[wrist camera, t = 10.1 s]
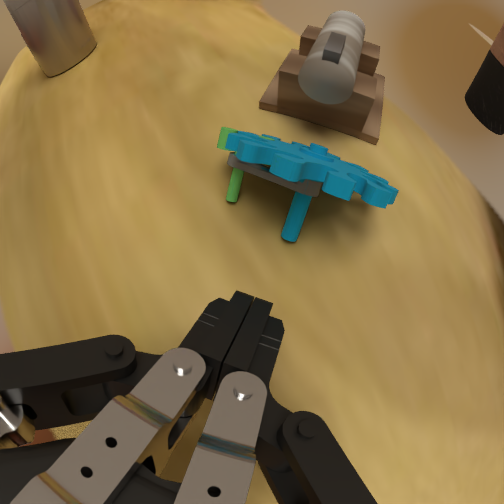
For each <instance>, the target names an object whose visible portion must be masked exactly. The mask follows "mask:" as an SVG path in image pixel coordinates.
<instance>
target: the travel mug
mask: <svg viewBox="0 0 504 504" xmlns="http://www.w3.org/2000/svg"><path fill="white" fill-rule="evenodd" d="M465 101H466V103H467V105H468V107H469V109H470V110H471V112H472V113H473V114H474V115H475V117H476V118H477V119H478V120H479V121H480V122H481V123H482V124H483V125H484V126H485V127H486V128H488V129H489V130H490V131H492V132H494V133H495V134H498V135H502V134H504V24H503V26H502V28H501V30H500V32H499V33H498V35H497V37H496V39H495V41H494V43H493V44H492V46H491V48H490V50H489V52H488V54H487V56H486V58H485V60H484V61H483V63H482V65H481V67H480V69H479V71H478V73H477V75H476V76H475V78H474V80H473V82H472V84H471V86H470V87H469V89H468V91H467V92H466V94H465Z"/></svg>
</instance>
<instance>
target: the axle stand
mask: <svg viewBox="0 0 504 504" xmlns="http://www.w3.org/2000/svg"><path fill="white" fill-rule="evenodd" d="M364 35H365V25H364V23H363V21H362V20H361V19H360V18H359V16H357V15H356V14H354V13H352V12H348V11H337V12H334V13H332V14H331V15H330V16H329V17H328V19H327V21H326V23H325V25H324V26H323V28H318V27H313V26H309V25H308V26H307V28H306V29H305V31H304V33H303V34H302V35H301V39H300V49H299V50H296V49H291V51H290V52H289V54H288V56H287V57H286V59H285V60H284V62H283V63H282V65H281V67H280V68H279V70H278V71H277V73H276V75H275V76H274V78H273V80H272V81H271V83H270V85H269V86H268V88H267V90H266V91H265V93H264V95H263V96H262V98H261V100H260V101H259V108H260V109H265V110H269V111H273V112H277V113H281V114H284V115H288V116H292V117H295V118H299V119H302V120H306V121H309V122H312V123H315V124H319V125H322V126H325V127H328V128H331V129H334V130H337V131H340V132H343V133H346V134H348V135H351V136H354V137H357V138H359V139H362V140H364V141H367V142H370V143H372V144H375V145H376V143H377V142H378V140H379V134H380V125H381V116H382V106H383V95H384V82H385V80H384V79H385V77H384V76H382V75H379V74H376V73H375V70H376V67H377V64H378V61H379V52H380V46H377V45H375V44H372V43H369V42H366V41H363V40H364Z"/></svg>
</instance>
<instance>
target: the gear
mask: <svg viewBox="0 0 504 504" xmlns="http://www.w3.org/2000/svg"><path fill="white" fill-rule="evenodd" d="M280 140H281V139H279V138H277V137H273V136H269V135H264V134H262V136H258V135H256V134H253V133H249V132H243V131H238V130H235V129H231V128H226V127H222V128H221V132H220V136H219V140H218V144H217V148H220V149H223V150H228V151H235V152H230V154H229V158H228V162H227V164H228V165H229V166H232V167H233V171H232V175H231V179H230V183H229V188H228V192H227V196H226V200H228V201H230V202H236V201H237V198H238V194H239V190H240V186H241V182H242V178H243V175H244V171H245V172H248V173H251V174H253V175H256V176H258V177H261V178H264V179H266V180H269V181H271V182H274V183H276V184H279V185H282V186H284V187H286V188H289V189H291V190H294V191H295V194H294V197H293V200H292V204H291V207H290V210H289V213H288V216H287V219H286V222H285V225H284V228H283V231H282V234H281V236H282V238H284V239H285V240H288V241H292V242H294V241H296V240H297V238H298V235H299V232H300V230H301V227H302V224H303V221H304V218H305V216H306V213H307V210H308V207H309V204H310V201H311V199H312V197H318V195H319V192H320V189H321V186H322V183H323V182H324V183H323V186H322V190H323V191H324V192H326V193H328V194H331V195H333V196H336V197H339V198H342V199H344V200H347V201H349V200H350V198H351V196H352V193H353V191H355V192H357V193H359V194H360V195H361V199H362V200H363V201H365V202H366V203H368V204H370V205H373V206H376V207H380V208H386V206H387V204H393V203H394V201H395V198H396V196H397V193H398V191H399V190H397V189H396V188H394V187H392V186H390V185H388V183H389V182H388V181H386V180H385V179H383V178H381V177H378V176H376V175H373V174H370V173H368V172H369V171H368V170H366V169H365V168H363V167H361V166H358V165H356V164H352V163H348V162H345V161H342V160H340V158H339V157H337V156H335V155H332V154H330V153H327V151H328V148H325V147H323V146H320V145H317V144H314V143H311V144H310V147H309V146H306V145H303V144H300V143H297V142H293V141H292V144H289V143H286V142H282V141H280ZM262 164H266V165H271V167H267V166H265V165H262Z"/></svg>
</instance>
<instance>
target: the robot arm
mask: <svg viewBox="0 0 504 504" xmlns="http://www.w3.org/2000/svg"><path fill="white" fill-rule="evenodd" d="M4 2H5V4H6V6H7V8H8V10H9V12H10V13H11V15H12V18H13V19H14V21H15V23H16V25H17V26H18V28H19V30H20V32H21V35H22V37H23V39H24V41H25V42H26V44H27V46H28V48H29V49H30V51H31V53H32V54H33V56H34V58H35V59H36V61H37V62H38V64H39V66H40V67H41V69H42V70H43V72H45V74H46V75H47V76H48V77H51V76H55V75H58V74H60V73H62V72H64V71H66V70H68V69H69V68H71V67H72V66H74V65H75V64H77V63H78V62H80V61H81V60H82V59H84V58H85V57H86V56H87V55H88V54H89V53H90V52H91V51H92V50H93V49H94V48H95V46H96V40H95V38H94V36H93V34H92V31H91V29H90V27H89V24H88V22H87V19H86V17H85V15H84V12H83V10H82V8H81V5H80V3H79V0H4ZM272 306H273V303H271V302H268V301H265V300H263V299H260V298H257V297H255V299H254V296H251V295H248V294H246V293H243V292H240V291H236V292H235V293H234V295H233V297H232V298H231V300H230V301H227V300H224V299H222V298H218V299H216V300H214V301H212V302H210V303H209V304H208V306H207V307H206V308H205V310H204V311H203V314H201V316H200V317H199V318H198V321H196V323H195V324H194V326H193V327H192V328H191V330H190V331H189V333H188V334H187V336H186V337H185V338H184V340H183V341H182V343H181V344H180V346H179V347H178V348H174V349H171V350H169V351H167V352H166V353H164V354H163V355H154V354H148V353H143V352H138V351H136V350H135V346H134V345H133V343H132V342H131V341H130V340H129V339H127V338H126V337H123V336H120V335H107V336H102V337H97V338H92V339H87V340H82V341H77V342H71V343H66V344H61V345H55V346H49V347H43V348H37V349H31V350H25V351H18V352H12V353H5V354H0V504H245V502H246V498H247V494H248V490H249V486H250V482H251V478H252V474H253V470H254V466H255V461H256V460H257V461H258V464H259V466H260V468H261V470H262V472H263V474H264V476H265V478H266V480H267V482H268V484H269V486H270V488H271V490H272V492H273V494H274V496H275V498H276V500H277V502H278V503H279V504H377V502H376V501H375V499H374V498H373V496H372V495H371V493H370V492H369V490H368V489H367V487H366V486H365V484H364V483H363V481H362V480H361V478H360V476H359V475H358V473H357V472H356V470H355V469H354V467H353V466H352V464H351V463H350V461H349V460H348V458H347V456H346V455H345V453H344V452H343V450H342V449H341V447H340V445H339V444H338V442H337V441H336V439H335V438H334V436H333V434H332V433H331V431H330V430H329V428H328V426H327V425H326V423H325V422H324V421H323V419H322V418H320V417H319V416H318V415H316V414H314V413H311V412H307V411H298V412H295V413H292V412H290V411H289V410H287V409H286V408H284V407H283V406H281V405H280V404H278V403H277V402H276V401H275V399H274V398H273V397H272V395H271V393H270V389H269V382H270V378H271V375H272V371H273V368H274V365H275V362H276V358H277V355H278V352H279V348H280V345H281V341H282V338H283V334H284V331H285V330H284V327H283V323H282V320H280V319H277V318H274V317H271V316H269V314H270V311H271V308H272ZM215 392H216V393H215ZM214 394H215V397H214V400H213V401H214V403H213V406H212V408H211V411H210V414H209V416H208V419H207V422H206V424H205V427H204V430H203V432H202V435H201V437H200V438H199V441H198V443H197V445H196V448H195V451H194V453H193V456H192V458H191V461H190V464H189V466H188V469H187V471H186V474H185V476H184V479H183V482H182V483H177V482H172V481H168V480H164V479H161V478H159V475H160V474H161V472H162V471H163V469H164V468H165V466H166V464H167V462H168V460H169V457H170V455H171V453H172V451H173V450H174V448H175V447H176V445H177V444H178V442H179V441H180V439H181V438H182V436H183V435H184V433H185V432H186V430H187V428H188V427H189V425H190V424H191V422H192V421H193V419H194V418H195V416H196V414H197V412H198V410H199V408H200V406H201V405H202V403H203V401H204V399H205V398H207V399H210V400H212V398H213V396H214ZM90 420H93V421H92V422H91V423H90V424H89V425H88V426H87V427H86V428H85V429H84V430H83V432H82V433H81V434H80V435H79V436H78V437H77V438H66V439H61V440H56V441H51V442H46V443H41V444H35V445H29V446H22V447H19V446H21V445H24V444H27V443H31V442H32V441H33V440H34V434H35V430H42V429H48V428H54V427H60V426H66V425H71V424H76V423H81V422H86V421H90ZM116 445H117V446H116Z"/></svg>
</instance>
